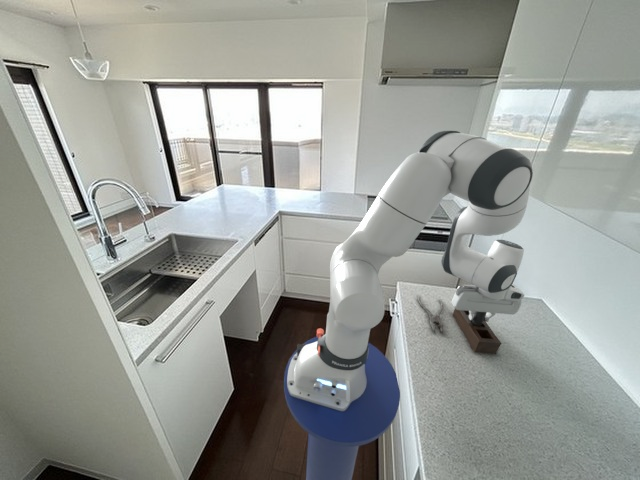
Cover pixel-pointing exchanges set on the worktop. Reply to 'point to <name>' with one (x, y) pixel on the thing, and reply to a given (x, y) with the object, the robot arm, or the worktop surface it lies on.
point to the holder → (477, 334)
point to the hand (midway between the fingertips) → (478, 319)
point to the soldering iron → (479, 318)
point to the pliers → (434, 318)
